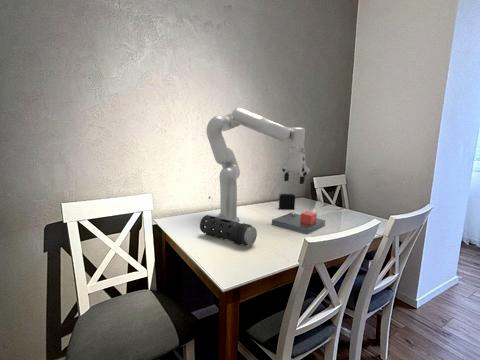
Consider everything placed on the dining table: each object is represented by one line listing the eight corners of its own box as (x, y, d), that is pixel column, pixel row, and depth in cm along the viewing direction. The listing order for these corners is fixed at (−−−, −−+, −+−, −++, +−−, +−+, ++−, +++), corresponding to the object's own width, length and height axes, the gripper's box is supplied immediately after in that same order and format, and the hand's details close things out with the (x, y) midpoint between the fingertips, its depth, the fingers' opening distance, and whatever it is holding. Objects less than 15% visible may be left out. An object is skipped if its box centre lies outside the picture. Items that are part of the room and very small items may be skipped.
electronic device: (294, 209, 195) (295, 195, 193) (279, 209, 195) (280, 194, 193) (293, 208, 199) (294, 193, 197) (278, 207, 199) (279, 193, 197)
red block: (310, 224, 154) (311, 215, 153) (300, 222, 158) (300, 213, 157) (316, 222, 159) (316, 213, 158) (306, 219, 163) (306, 211, 162)
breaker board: (307, 234, 148) (307, 226, 147) (271, 224, 163) (272, 217, 162) (325, 225, 163) (325, 218, 162) (291, 217, 177) (291, 210, 177)
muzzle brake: (212, 232, 150) (212, 212, 149) (257, 245, 134) (258, 223, 132) (199, 237, 143) (199, 216, 141) (245, 251, 126) (245, 228, 124)
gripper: (314, 152, 153) (311, 184, 156) (286, 149, 164) (284, 179, 167) (307, 152, 148) (304, 185, 150) (279, 149, 159) (276, 180, 162)
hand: (293, 182), depth 159 cm, fingers open, 9 cm apart
